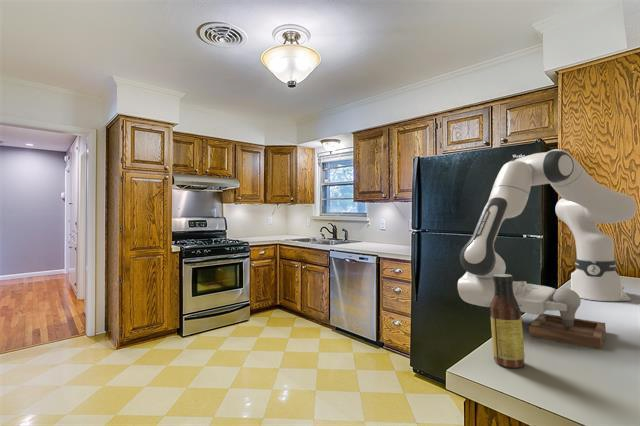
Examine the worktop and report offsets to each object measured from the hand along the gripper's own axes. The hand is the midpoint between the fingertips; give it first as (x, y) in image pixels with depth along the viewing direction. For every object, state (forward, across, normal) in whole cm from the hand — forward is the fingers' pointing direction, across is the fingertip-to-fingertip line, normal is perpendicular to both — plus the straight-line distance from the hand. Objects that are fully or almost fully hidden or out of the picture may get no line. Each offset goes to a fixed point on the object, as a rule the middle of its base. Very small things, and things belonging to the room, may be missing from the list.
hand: (570, 303), depth 91 cm
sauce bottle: (-8, -29, +9) cm, 31 cm away
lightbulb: (-1, +2, +8) cm, 8 cm away
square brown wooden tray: (-1, 0, +8) cm, 8 cm away
